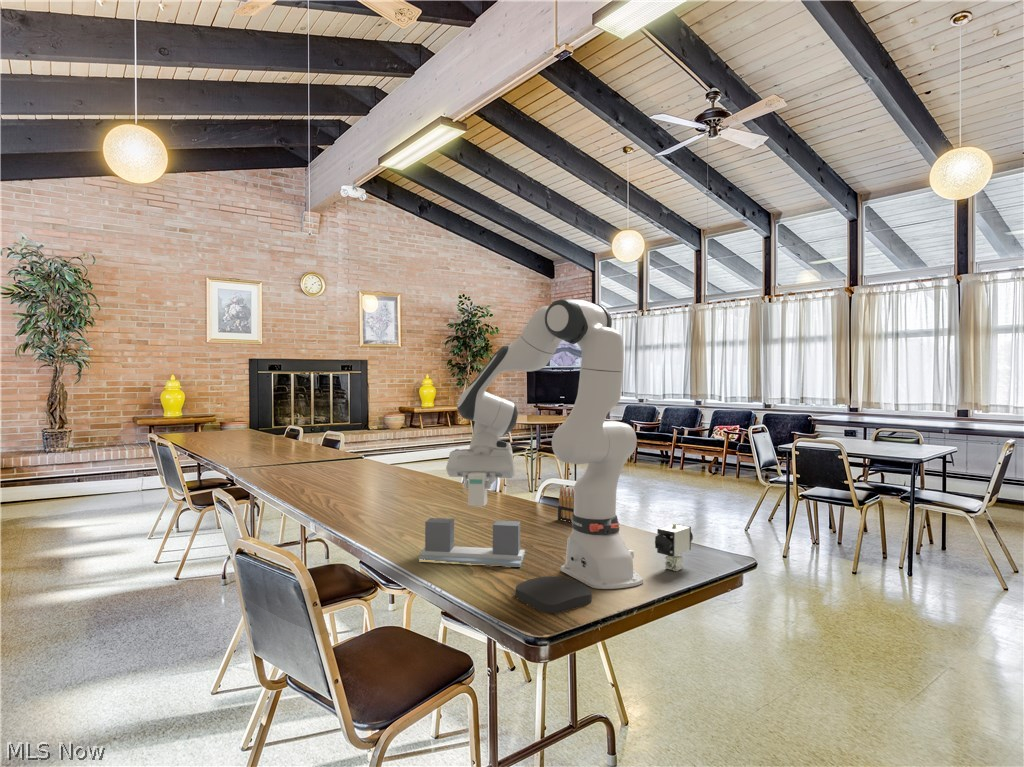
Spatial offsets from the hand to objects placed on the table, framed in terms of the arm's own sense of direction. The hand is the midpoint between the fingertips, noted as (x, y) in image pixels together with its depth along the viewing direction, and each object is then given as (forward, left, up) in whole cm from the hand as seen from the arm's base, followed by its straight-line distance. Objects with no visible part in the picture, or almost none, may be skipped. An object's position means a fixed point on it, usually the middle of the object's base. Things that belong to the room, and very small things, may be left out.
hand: (477, 487), depth 159 cm
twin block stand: (-4, +2, -19) cm, 20 cm away
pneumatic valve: (-27, -47, -19) cm, 57 cm away
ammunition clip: (+27, -41, -19) cm, 53 cm away
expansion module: (+1, 0, -5) cm, 5 cm away
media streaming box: (-37, -9, -20) cm, 43 cm away
